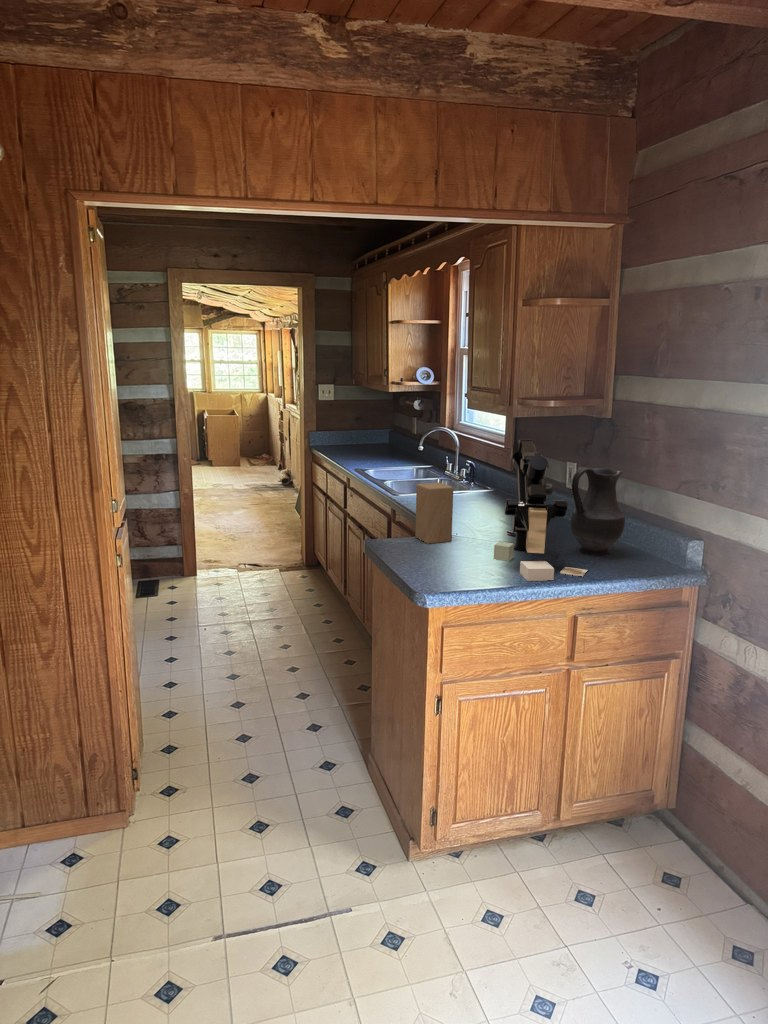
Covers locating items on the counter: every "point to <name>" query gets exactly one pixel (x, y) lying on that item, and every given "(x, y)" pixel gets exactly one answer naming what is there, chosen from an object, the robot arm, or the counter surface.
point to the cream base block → (536, 570)
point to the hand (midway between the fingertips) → (536, 530)
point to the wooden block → (434, 512)
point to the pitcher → (597, 511)
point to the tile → (573, 571)
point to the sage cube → (503, 551)
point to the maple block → (536, 530)
